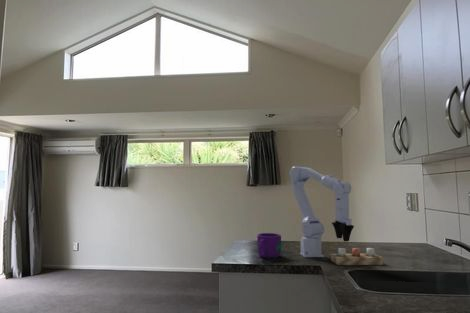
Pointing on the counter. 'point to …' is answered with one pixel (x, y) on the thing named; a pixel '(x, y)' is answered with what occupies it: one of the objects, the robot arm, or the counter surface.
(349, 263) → the socket block
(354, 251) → the plug red
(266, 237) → the mug
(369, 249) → the plug right
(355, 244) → the counter surface
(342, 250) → the plug left
